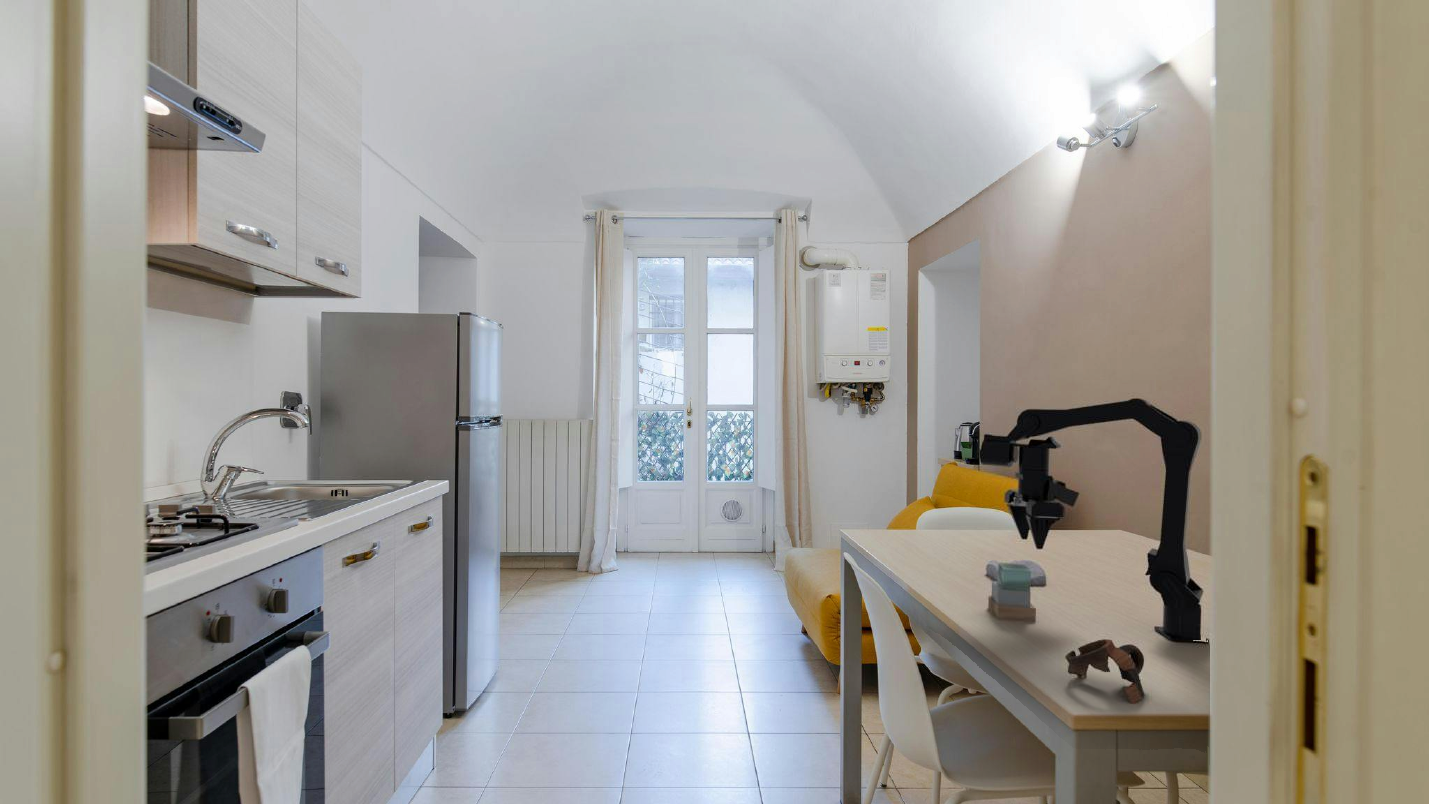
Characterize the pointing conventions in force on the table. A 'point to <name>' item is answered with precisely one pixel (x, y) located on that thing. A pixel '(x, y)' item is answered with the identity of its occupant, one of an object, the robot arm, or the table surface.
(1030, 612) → the walnut base block
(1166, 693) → the table surface
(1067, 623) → the table surface
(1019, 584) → the teal block
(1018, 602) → the grey middle block
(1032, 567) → the stone block
